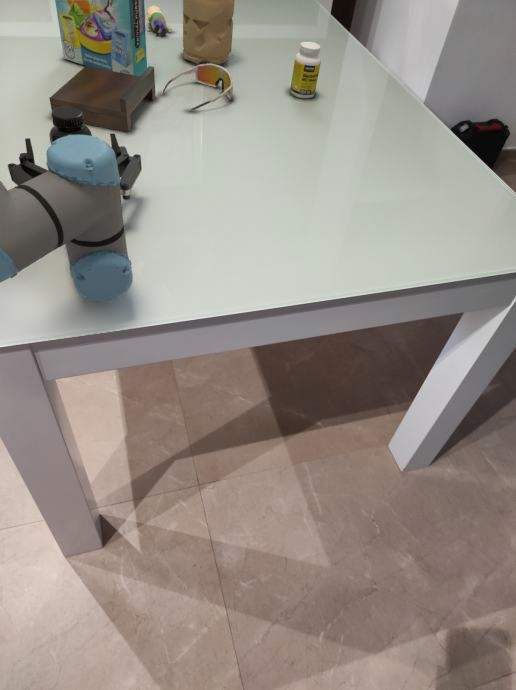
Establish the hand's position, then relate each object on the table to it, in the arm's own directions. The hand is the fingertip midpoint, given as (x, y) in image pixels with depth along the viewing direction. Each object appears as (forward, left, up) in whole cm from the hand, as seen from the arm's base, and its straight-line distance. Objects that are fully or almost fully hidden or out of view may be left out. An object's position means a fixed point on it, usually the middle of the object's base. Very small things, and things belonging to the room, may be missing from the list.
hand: (72, 143), depth 87 cm
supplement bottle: (0, -1, -7) cm, 7 cm away
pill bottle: (+34, +54, -7) cm, 65 cm away
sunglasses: (+11, +42, -7) cm, 44 cm away
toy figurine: (-11, +80, -7) cm, 82 cm away
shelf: (-6, +28, -7) cm, 30 cm away
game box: (-14, +48, -7) cm, 51 cm away
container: (+7, +65, -7) cm, 66 cm away
